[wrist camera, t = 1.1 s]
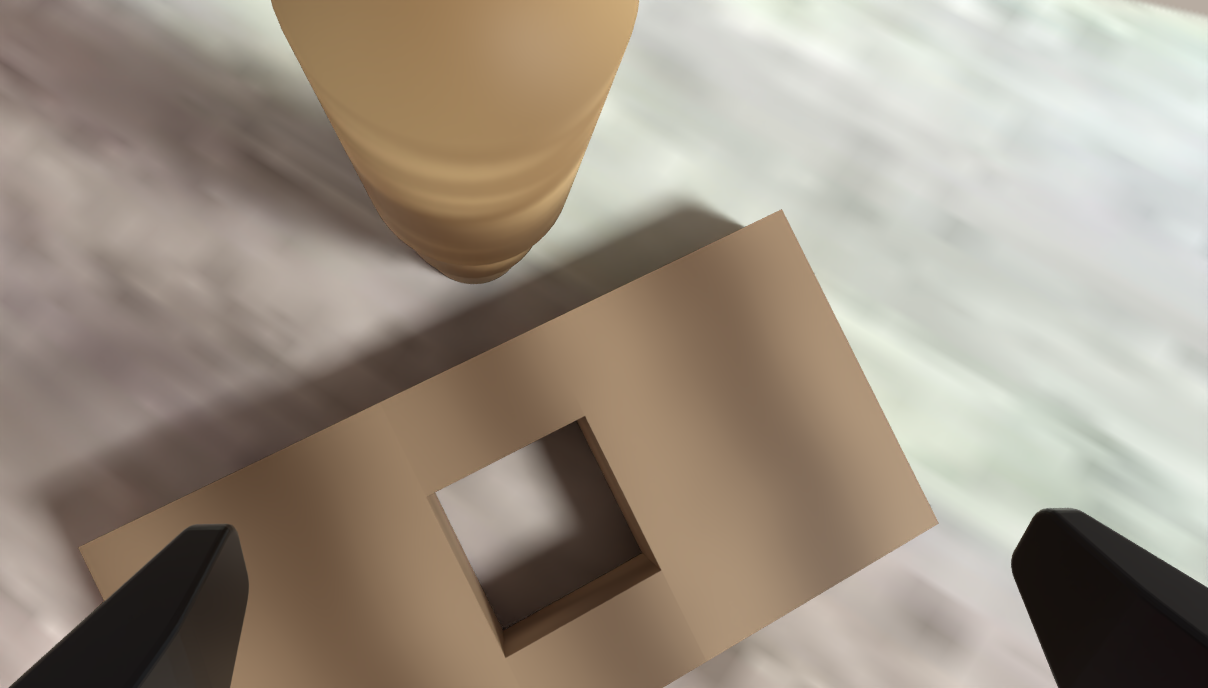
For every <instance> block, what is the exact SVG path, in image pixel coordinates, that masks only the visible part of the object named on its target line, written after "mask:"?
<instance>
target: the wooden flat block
mask: <svg viewBox="0 0 1208 688" xmlns="http://www.w3.org/2000/svg"><path fill="white" fill-rule="evenodd" d="M576 420H577V422H578V424H579V426H580V428H581V430H582V432H583V435H584V437H585V439H586V441H587V443H588V445H589V447H590V449H591V451H592V453H593V455H594V457H595V459H596V461H597V463H598V465H599V467H600V469H601V471H602V473H603V475H604V477H605V479H606V481H607V483H608V485H609V487H610V489H611V491H612V493H613V495H614V497H615V499H616V501H617V503H618V505H619V507H620V509H621V511H622V513H623V515H624V517H625V519H626V521H627V523H628V525H629V527H630V529H631V532H632V534H633V536H634V538H635V540H636V542H637V544H638V546H639V548H640V550H641V552H642V554H640V555H638V556H637V557H635V558H633V559H631V560H629V561H628V562H626V563H624V564H622V565H620V566H619V567H617V568H615V569H613V570H611V571H610V572H608V573H606V574H604V575H602V576H601V577H599V578H597V579H595V580H593V581H592V582H590V583H588V584H586V585H584V586H583V587H581V588H579V589H577V590H575V591H574V592H572V593H570V594H568V595H566V596H565V597H563V598H561V599H559V600H557V601H556V602H554V603H552V604H550V605H548V606H547V607H545V608H543V609H541V610H539V611H538V612H536V613H534V614H532V615H530V616H529V617H527V618H525V619H523V620H521V621H520V622H518V623H516V624H514V625H512V626H511V627H509V628H507V629H505V630H502V628H501V626H500V624H499V622H498V620H497V618H496V616H495V614H494V611H493V609H492V607H491V605H490V603H489V601H488V599H487V597H486V595H485V593H484V591H483V589H482V587H481V585H480V583H479V581H478V579H477V577H476V575H475V573H474V571H473V569H472V567H471V565H470V563H469V561H468V559H467V557H466V555H465V553H464V551H463V548H462V546H461V544H460V542H459V540H458V538H457V536H456V534H455V532H454V530H453V528H452V526H451V524H450V522H449V520H448V518H447V516H446V514H445V512H444V510H443V508H442V506H441V504H440V502H439V500H438V498H437V496H436V494H435V492H437V491H439V490H441V489H442V488H444V487H446V486H448V485H450V484H452V483H454V482H456V481H458V480H460V479H462V478H464V477H466V476H468V475H470V474H472V473H474V472H476V471H478V470H480V469H482V468H484V467H486V466H488V465H490V464H491V463H493V462H495V461H497V460H499V459H501V458H503V457H505V456H507V455H509V454H511V453H513V452H515V451H517V450H519V449H521V448H523V447H525V446H527V445H529V444H531V443H533V442H535V441H537V440H539V439H540V438H542V437H544V436H546V435H548V434H550V433H552V432H554V431H556V430H558V429H560V428H562V427H564V426H566V425H568V424H570V423H572V422H574V421H576ZM195 524H230V525H233V526H234V527H235V528H236V530H237V532H238V535H239V539H240V543H241V548H242V552H243V556H244V560H245V564H246V568H247V573H248V578H249V595H248V602H247V607H246V612H245V617H244V621H243V626H242V631H241V636H240V641H239V646H238V651H237V656H236V661H235V666H234V671H233V676H232V681H231V686H230V688H663V687H665V686H666V685H668V684H670V683H671V682H673V681H675V680H676V679H678V678H680V677H681V676H683V675H685V674H686V673H688V672H690V671H692V670H693V669H695V668H697V667H698V666H700V665H702V664H703V663H705V662H707V661H708V660H710V659H712V658H713V657H715V656H717V655H718V654H720V653H722V652H723V651H725V650H727V649H728V648H730V647H732V646H734V645H735V644H737V643H739V642H740V641H742V640H744V639H745V638H747V637H749V636H750V635H752V634H754V633H755V632H757V631H759V630H760V629H762V628H764V627H765V626H767V625H769V624H771V623H772V622H774V621H776V620H777V619H779V618H781V617H782V616H784V615H786V614H787V613H789V612H791V611H792V610H794V609H796V608H797V607H799V606H801V605H802V604H804V603H806V602H807V601H809V600H811V599H813V598H814V597H816V596H818V595H819V594H821V593H823V592H824V591H826V590H828V589H829V588H831V587H833V586H834V585H836V584H838V583H839V582H841V581H843V580H844V579H846V578H848V577H850V576H851V575H853V574H855V573H856V572H858V571H860V570H861V569H863V568H865V567H866V566H868V565H870V564H871V563H873V562H875V561H876V560H878V559H880V558H881V557H883V556H885V555H886V554H888V553H890V552H892V551H893V550H895V549H897V548H898V547H900V546H902V545H903V544H905V543H907V542H908V541H910V540H912V539H913V538H915V537H917V536H918V535H920V534H922V533H923V532H925V531H927V530H929V529H930V528H932V527H934V526H935V525H937V524H939V523H938V521H937V519H936V517H935V515H934V513H933V511H932V509H931V507H930V505H929V503H928V501H927V499H926V497H925V495H924V493H923V491H922V489H921V487H920V485H919V483H918V481H917V479H916V477H915V475H914V473H913V471H912V469H911V467H910V465H909V463H908V461H907V459H906V457H905V455H904V453H903V451H902V449H901V447H900V445H899V443H898V441H897V439H896V437H895V435H894V433H893V431H892V429H891V427H890V425H889V423H888V421H887V419H886V417H885V415H884V413H883V411H882V409H881V407H880V405H879V403H878V401H877V399H876V397H875V395H874V393H873V391H872V389H871V387H870V385H869V383H868V381H867V379H866V377H865V375H864V373H863V371H862V369H861V367H860V365H859V363H858V361H857V359H856V357H855V355H854V353H853V351H852V349H851V347H850V345H849V343H848V341H847V339H846V337H845V335H844V333H843V331H842V329H841V327H840V325H839V323H838V321H837V319H836V317H835V315H834V313H833V311H832V309H831V307H830V305H829V303H828V301H827V299H826V297H825V295H824V293H823V291H822V289H821V287H820V285H819V283H818V281H817V279H816V277H815V275H814V273H813V271H812V269H811V267H810V265H809V263H808V261H807V259H806V257H805V255H804V253H803V251H802V249H801V247H800V245H799V243H798V241H797V239H796V237H795V235H794V233H793V231H792V229H791V227H790V225H789V223H788V221H787V219H786V217H785V215H784V213H783V211H782V209H781V210H779V211H777V212H775V213H773V214H771V215H769V216H767V217H765V218H763V219H761V220H759V221H756V222H754V223H752V224H750V225H748V226H746V227H744V228H742V229H740V230H738V231H736V232H734V233H731V234H729V235H727V236H725V237H723V238H721V239H719V240H717V241H715V242H713V243H711V244H709V245H706V246H704V247H702V248H700V249H698V250H696V251H694V252H692V253H690V254H688V255H686V256H684V257H682V258H679V259H677V260H675V261H673V262H671V263H669V264H667V265H665V266H663V267H661V268H659V269H657V270H654V271H652V272H650V273H648V274H646V275H644V276H642V277H640V278H638V279H636V280H634V281H632V282H629V283H627V284H625V285H623V286H621V287H619V288H617V289H615V290H613V291H611V292H609V293H607V294H604V295H602V296H600V297H598V298H596V299H594V300H592V301H590V302H588V303H586V304H584V305H582V306H579V307H577V308H575V309H573V310H571V311H569V312H567V313H565V314H563V315H561V316H559V317H557V318H555V319H552V320H550V321H548V322H546V323H544V324H542V325H540V326H538V327H536V328H534V329H532V330H530V331H527V332H525V333H523V334H521V335H519V336H517V337H515V338H513V339H511V340H509V341H507V342H505V343H502V344H500V345H498V346H496V347H494V348H492V349H490V350H488V351H486V352H484V353H482V354H480V355H477V356H475V357H473V358H471V359H469V360H467V361H465V362H463V363H461V364H459V365H457V366H455V367H452V368H450V369H448V370H446V371H444V372H442V373H440V374H438V375H436V376H434V377H432V378H430V379H428V380H425V381H423V382H421V383H419V384H417V385H415V386H413V387H411V388H409V389H407V390H405V391H403V392H400V393H398V394H396V395H394V396H392V397H390V398H388V399H386V400H384V401H382V402H380V403H378V404H375V405H373V406H371V407H369V408H367V409H365V410H363V411H361V412H359V413H357V414H355V415H353V416H350V417H348V418H346V419H344V420H342V421H340V422H338V423H336V424H334V425H332V426H330V427H328V428H325V429H323V430H321V431H319V432H317V433H315V434H313V435H311V436H309V437H307V438H305V439H303V440H301V441H298V442H296V443H294V444H292V445H290V446H288V447H286V448H284V449H282V450H280V451H278V452H276V453H273V454H271V455H269V456H267V457H265V458H263V459H261V460H259V461H257V462H255V463H253V464H251V465H248V466H246V467H244V468H242V469H240V470H238V471H236V472H234V473H232V474H230V475H228V476H226V477H223V478H221V479H219V480H217V481H215V482H213V483H211V484H209V485H207V486H205V487H203V488H201V489H198V490H196V491H194V492H192V493H190V494H188V495H186V496H184V497H182V498H180V499H178V500H176V501H174V502H171V503H169V504H167V505H165V506H163V507H161V508H159V509H157V510H155V511H153V512H151V513H149V514H146V515H144V516H142V517H140V518H138V519H136V520H134V521H132V522H130V523H128V524H126V525H124V526H121V527H119V528H117V529H115V530H113V531H111V532H109V533H107V534H105V535H103V536H101V537H99V538H96V539H94V540H92V541H90V542H88V543H86V544H84V545H82V546H80V547H78V548H79V550H80V552H81V554H82V557H83V559H84V561H85V563H86V565H87V567H88V569H89V571H90V573H91V575H92V577H93V579H94V581H95V583H96V585H97V587H98V589H99V591H100V594H101V596H102V598H103V600H104V601H105V600H106V599H107V598H109V597H110V596H111V595H112V594H113V593H114V592H115V591H116V590H117V589H119V588H120V587H121V586H122V585H123V584H124V583H125V582H126V581H127V580H129V579H130V578H131V577H132V576H133V575H134V574H135V573H136V572H137V571H139V570H140V569H141V568H142V567H143V566H144V565H145V564H146V563H147V562H149V561H150V560H151V559H152V558H153V557H154V556H155V555H156V554H157V553H159V552H160V551H161V550H162V549H163V548H164V547H165V546H166V545H167V544H168V543H170V542H171V541H172V540H173V539H174V538H175V537H176V536H177V535H178V534H180V533H181V532H182V531H183V530H184V529H186V528H188V527H189V526H191V525H195Z"/></svg>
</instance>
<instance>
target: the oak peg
mask: <svg viewBox="0 0 1208 688" xmlns="http://www.w3.org/2000/svg"><path fill="white" fill-rule="evenodd" d="M271 2H272V6H273V9H274V12H275V14H276V16H277V19H278V21H279V24H280V26H281V29H282V31H283V33H284V35H285V37H286V39H287V40H288V42H289V44H290V46H291V48H292V50H293V52H294V54H295V56H296V58H297V60H298V61H299V63H300V65H301V67H302V69H303V71H304V73H305V75H306V77H307V79H308V81H309V82H310V84H311V86H312V88H313V90H314V92H315V94H316V96H317V98H318V100H319V102H320V103H321V105H322V107H323V109H324V111H325V113H326V115H327V117H328V119H329V121H330V123H331V124H332V126H333V128H334V130H335V132H336V134H337V136H338V138H339V140H340V142H341V143H342V145H343V147H344V149H345V151H346V153H347V155H348V157H349V159H350V161H351V163H352V164H353V166H354V168H355V170H356V172H357V174H358V176H359V178H360V180H361V182H362V184H363V185H364V187H365V189H366V191H367V193H368V195H369V197H370V199H371V201H372V203H373V205H374V206H375V208H376V210H377V212H378V213H379V215H380V217H381V218H382V220H383V221H384V222H385V224H386V225H387V226H388V228H389V229H390V230H391V231H392V232H393V233H394V234H395V235H396V236H397V237H398V238H399V239H400V240H402V241H403V242H404V243H406V244H407V245H408V246H409V247H411V248H413V249H414V250H415V251H416V253H417V254H418V255H419V256H420V257H421V258H422V259H423V260H425V261H426V262H427V263H429V264H430V265H431V266H433V267H435V268H436V269H438V270H439V271H440V272H441V273H443V274H444V275H445V276H447V277H449V278H450V279H453V280H455V281H458V282H462V283H467V284H481V283H486V282H490V281H493V280H495V279H497V278H499V277H501V276H502V275H504V274H505V273H506V272H507V271H508V270H510V269H511V268H512V266H514V265H515V264H516V263H518V262H519V261H520V260H521V259H522V258H523V257H524V256H525V255H526V254H527V253H528V252H529V250H530V249H531V248H532V246H533V245H534V244H536V243H537V242H538V241H539V240H540V239H541V238H542V237H543V236H544V235H546V234H547V232H548V231H549V230H550V229H551V227H552V226H553V225H554V223H555V222H556V220H557V218H558V217H559V215H560V213H561V211H562V209H563V207H564V204H565V202H566V199H567V197H568V194H569V192H570V189H571V187H572V184H573V182H574V179H575V177H576V174H577V172H578V169H579V166H580V164H581V161H582V159H583V156H584V154H585V151H586V149H587V146H588V144H589V141H590V139H591V136H592V133H593V131H594V128H595V126H596V123H597V121H598V118H599V116H600V113H601V111H602V108H603V105H604V103H605V100H606V98H607V95H608V93H609V90H610V88H611V85H612V83H613V80H614V78H615V75H616V72H617V70H618V67H619V65H620V62H621V60H622V57H623V55H624V52H625V50H626V47H627V45H628V42H629V39H630V37H631V34H632V31H633V27H634V24H635V20H636V16H637V12H638V5H639V0H271Z"/></svg>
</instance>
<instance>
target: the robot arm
mask: <svg viewBox="0 0 1208 688" xmlns="http://www.w3.org/2000/svg"><path fill="white" fill-rule="evenodd" d="M1011 568H1012V573H1013V577H1014V579H1015V582H1016V584H1017V587H1018V589H1019V592H1020V594H1021V597H1022V599H1023V602H1024V604H1025V607H1026V609H1027V612H1028V614H1029V617H1030V619H1031V622H1032V624H1033V627H1034V629H1035V632H1036V634H1037V637H1038V639H1039V642H1040V644H1041V647H1042V649H1043V652H1044V654H1045V657H1046V659H1047V661H1048V664H1049V666H1050V669H1051V671H1052V674H1053V676H1054V679H1055V681H1056V683H1057V686H1058V688H1208V587H1206V586H1204V585H1203V584H1201V583H1199V582H1198V581H1196V580H1194V579H1193V578H1191V577H1189V576H1188V575H1186V574H1184V573H1183V572H1181V571H1180V570H1178V569H1176V568H1175V567H1173V566H1171V565H1170V564H1168V563H1166V562H1165V561H1163V560H1161V559H1160V558H1158V557H1156V556H1155V555H1153V554H1151V553H1150V552H1148V551H1147V550H1145V549H1143V548H1142V547H1140V546H1138V545H1137V544H1135V543H1133V542H1132V541H1130V540H1128V539H1127V538H1125V537H1123V536H1122V535H1120V534H1119V533H1117V532H1115V531H1114V530H1112V529H1110V528H1109V527H1107V526H1105V525H1104V524H1102V523H1100V522H1099V521H1097V520H1095V519H1094V518H1092V517H1090V516H1089V515H1087V514H1086V513H1084V512H1082V511H1080V510H1077V509H1073V508H1046V509H1042V510H1040V511H1039V512H1037V513H1036V514H1035V515H1034V517H1033V518H1032V520H1031V522H1030V524H1029V526H1028V527H1027V529H1026V531H1025V533H1024V534H1023V536H1022V538H1021V540H1020V542H1019V543H1018V545H1017V547H1016V549H1015V550H1014V552H1013V555H1012V559H1011ZM248 595H249V578H248V573H247V568H246V564H245V560H244V556H243V552H242V548H241V543H240V539H239V535H238V532H237V530H236V528H235V527H234V526H233V525H230V524H195V525H191V526H189V527H188V528H186V529H184V530H183V531H182V532H181V533H180V534H178V535H177V536H176V537H175V538H174V539H173V540H172V541H171V542H170V543H168V544H167V545H166V546H165V547H164V548H163V549H162V550H161V551H160V552H159V553H157V554H156V555H155V556H154V557H153V558H152V559H151V560H150V561H149V562H147V563H146V564H145V565H144V566H143V567H142V568H141V569H140V570H139V571H137V572H136V573H135V574H134V575H133V576H132V577H131V578H130V579H129V580H127V581H126V582H125V583H124V584H123V585H122V586H121V587H120V588H119V589H117V590H116V591H115V592H114V593H113V594H112V595H111V596H110V597H109V598H107V599H106V600H105V601H104V602H103V603H102V604H101V605H100V606H99V607H97V608H96V609H95V610H94V611H93V612H92V613H91V614H90V615H89V616H88V617H86V618H85V619H84V620H83V621H82V622H81V623H80V624H79V625H78V626H76V627H75V628H74V629H73V630H72V631H71V632H70V633H69V634H68V635H66V636H65V637H64V638H63V639H62V640H61V641H60V642H59V643H58V644H56V645H55V646H54V647H53V648H52V649H51V650H50V651H49V652H48V653H46V654H45V655H44V656H43V657H42V658H41V659H40V660H39V661H38V662H36V663H35V664H34V665H33V666H32V667H31V668H30V669H29V670H28V671H26V672H25V673H24V674H23V675H22V676H21V677H20V678H19V679H18V680H17V681H15V682H14V683H13V684H12V685H11V686H10V687H9V688H230V686H231V681H232V676H233V671H234V666H235V661H236V656H237V651H238V646H239V641H240V636H241V631H242V626H243V621H244V617H245V612H246V607H247V602H248Z"/></svg>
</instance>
